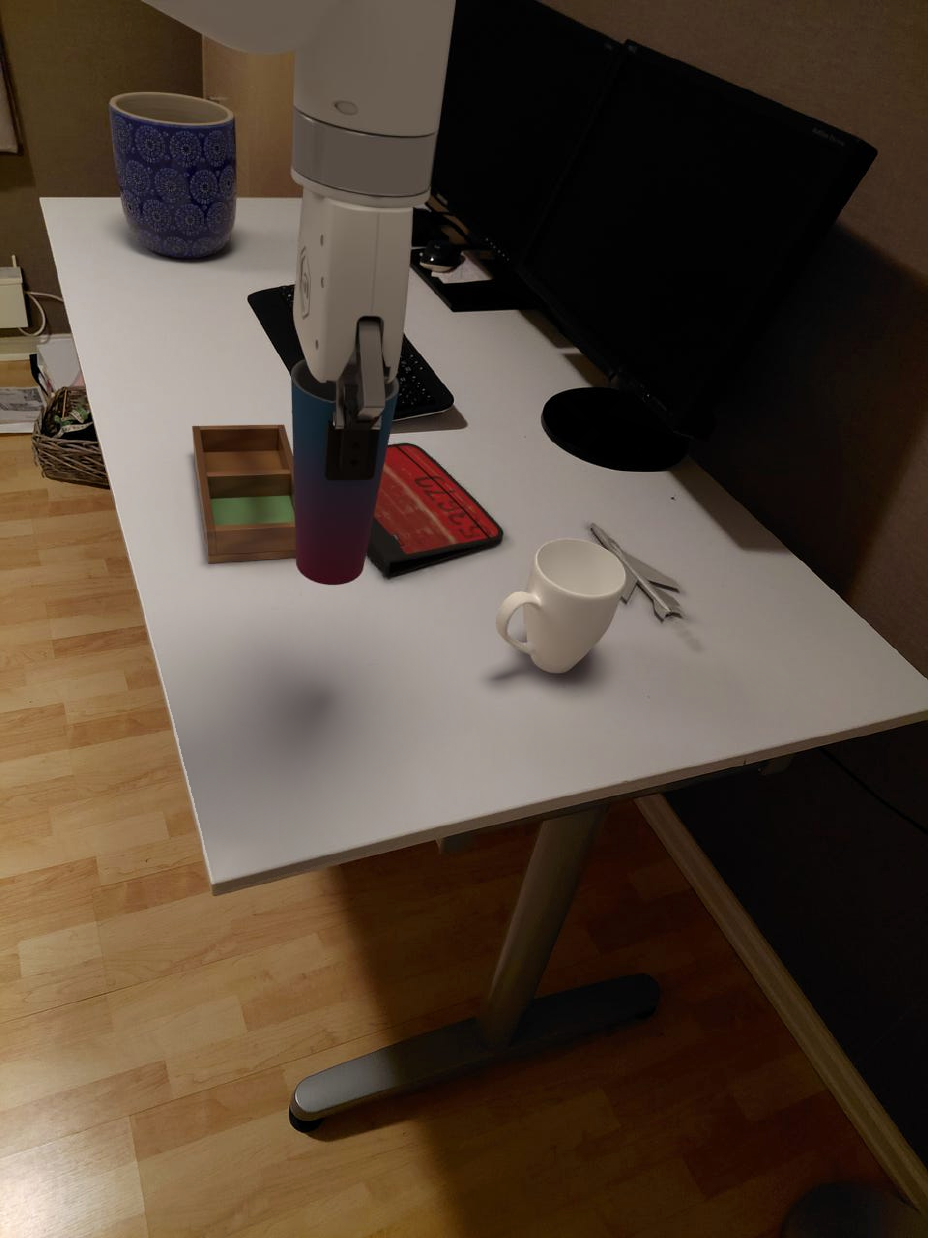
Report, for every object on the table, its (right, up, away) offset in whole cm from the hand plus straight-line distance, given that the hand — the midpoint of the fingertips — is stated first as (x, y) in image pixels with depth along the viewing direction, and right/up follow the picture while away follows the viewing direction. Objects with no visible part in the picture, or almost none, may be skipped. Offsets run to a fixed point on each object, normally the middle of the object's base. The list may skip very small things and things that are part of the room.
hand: (339, 447), depth 57 cm
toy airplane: (+28, -8, +36) cm, 46 cm away
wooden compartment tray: (-15, +1, +35) cm, 38 cm away
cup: (-2, -8, +7) cm, 10 cm away
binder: (+1, +1, +39) cm, 39 cm away
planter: (-39, +51, +86) cm, 107 cm away
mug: (+15, -16, +24) cm, 33 cm away
